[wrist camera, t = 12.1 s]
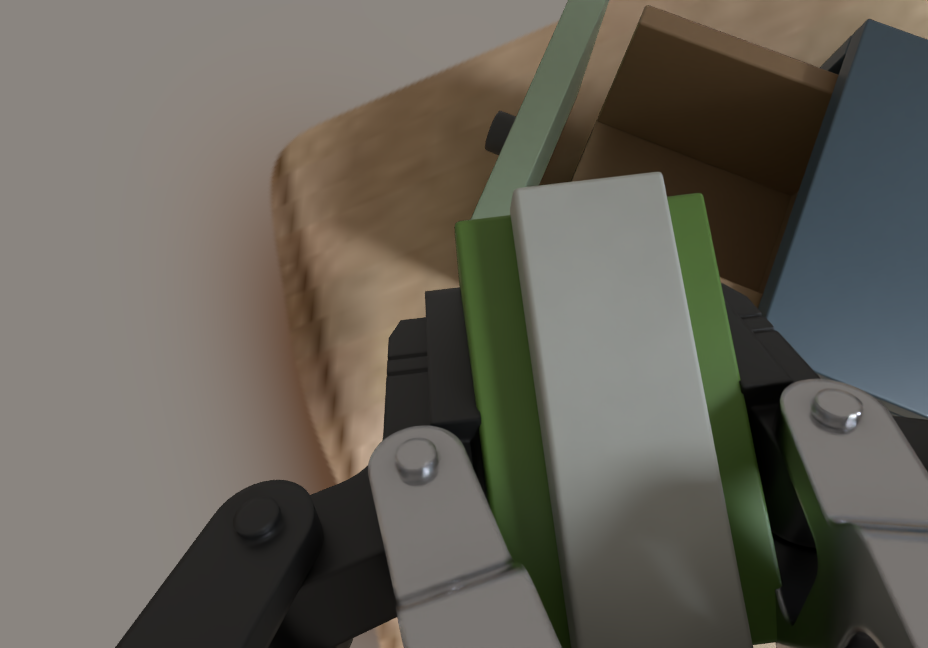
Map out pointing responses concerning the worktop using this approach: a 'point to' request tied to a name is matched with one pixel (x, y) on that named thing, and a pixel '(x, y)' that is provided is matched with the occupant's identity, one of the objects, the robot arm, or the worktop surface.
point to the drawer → (676, 128)
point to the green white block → (617, 416)
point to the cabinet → (863, 228)
